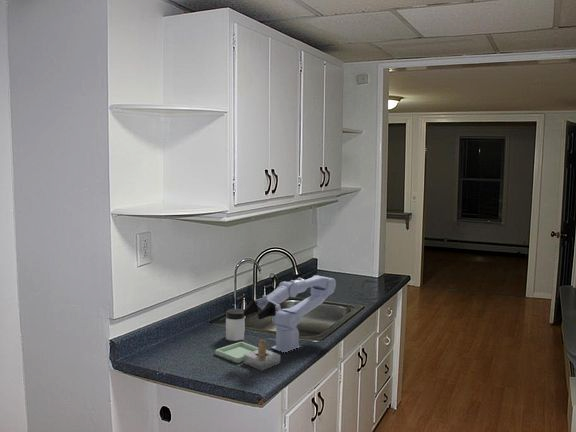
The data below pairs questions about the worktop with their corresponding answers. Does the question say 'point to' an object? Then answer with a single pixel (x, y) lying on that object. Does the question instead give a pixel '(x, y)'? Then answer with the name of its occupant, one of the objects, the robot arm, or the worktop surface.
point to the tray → (235, 351)
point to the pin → (262, 348)
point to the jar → (235, 324)
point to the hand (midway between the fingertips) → (251, 315)
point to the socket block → (261, 360)
